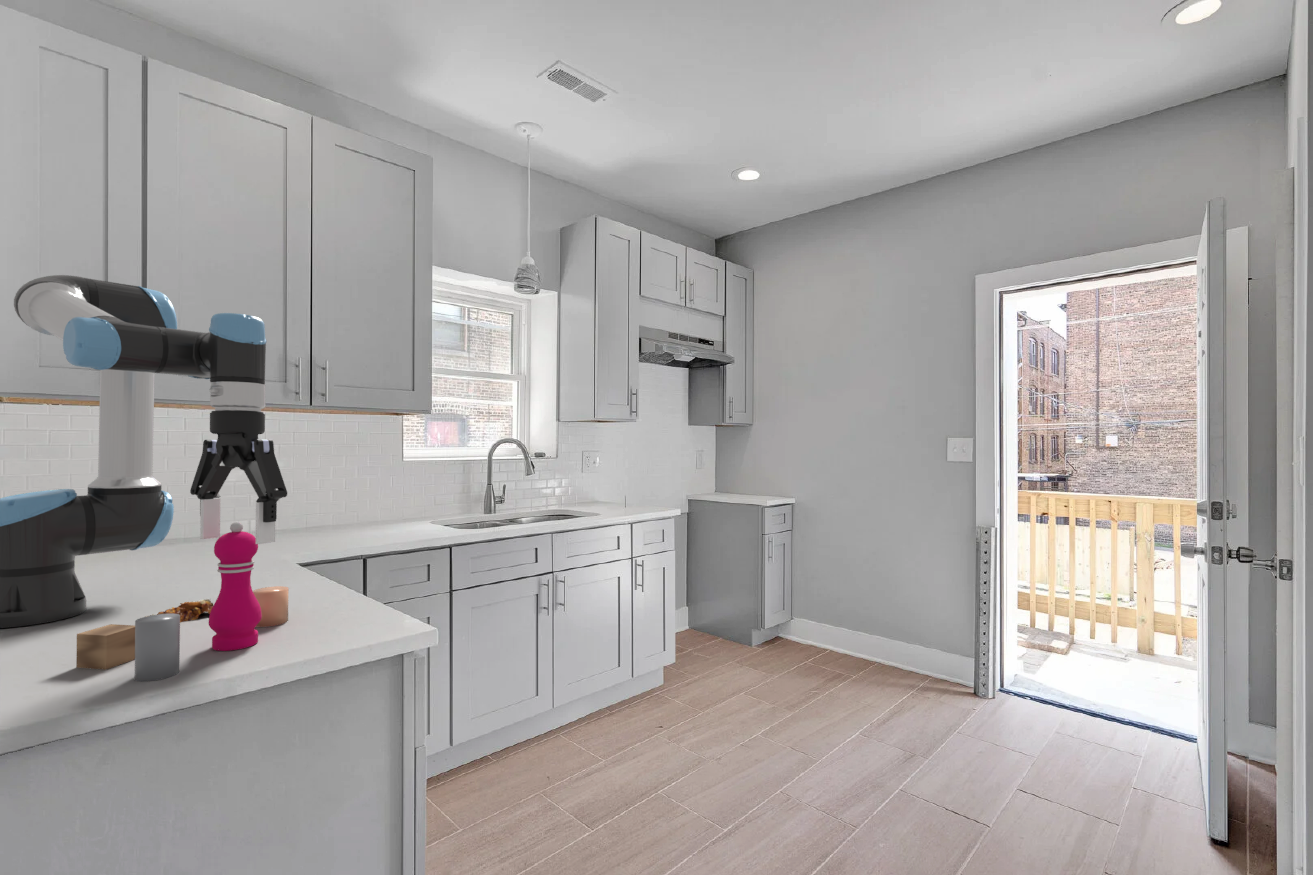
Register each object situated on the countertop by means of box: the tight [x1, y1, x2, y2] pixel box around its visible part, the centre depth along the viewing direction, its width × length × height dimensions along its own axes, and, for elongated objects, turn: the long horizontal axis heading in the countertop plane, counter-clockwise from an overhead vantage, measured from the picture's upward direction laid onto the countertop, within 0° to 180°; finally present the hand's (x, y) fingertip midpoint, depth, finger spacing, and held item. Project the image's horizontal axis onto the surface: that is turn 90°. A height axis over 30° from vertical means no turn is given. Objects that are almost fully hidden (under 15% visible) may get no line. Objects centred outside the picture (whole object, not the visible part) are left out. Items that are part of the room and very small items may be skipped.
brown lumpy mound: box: [144, 598, 214, 624], centre depth 118 cm, size 7×12×4 cm, turn 142°
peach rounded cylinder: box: [252, 585, 290, 628], centre depth 116 cm, size 6×6×6 cm
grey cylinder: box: [134, 613, 181, 682], centre depth 90 cm, size 5×5×8 cm
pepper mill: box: [208, 521, 262, 652], centre depth 103 cm, size 7×7×20 cm
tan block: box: [75, 623, 135, 671], centre depth 95 cm, size 5×5×5 cm
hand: (237, 540), depth 103 cm, fingers open, 13 cm apart
